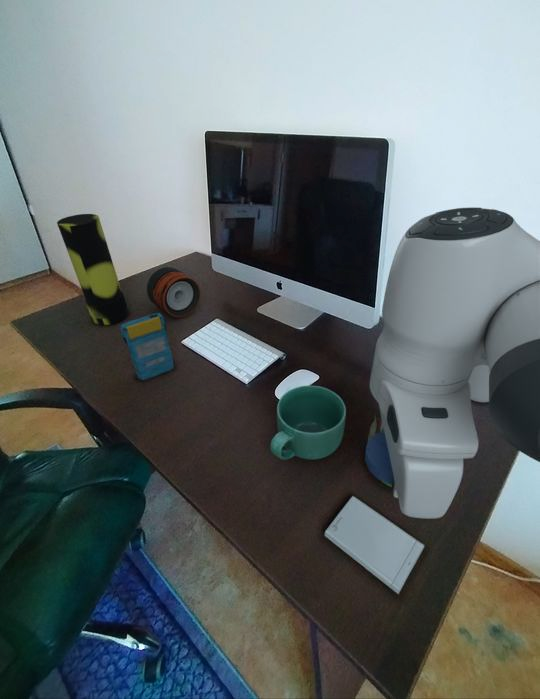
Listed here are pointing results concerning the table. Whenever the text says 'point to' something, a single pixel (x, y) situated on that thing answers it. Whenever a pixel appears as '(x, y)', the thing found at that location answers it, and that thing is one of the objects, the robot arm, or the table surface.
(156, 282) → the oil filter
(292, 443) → the mug
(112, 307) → the container
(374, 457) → the jar lid
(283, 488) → the table surface
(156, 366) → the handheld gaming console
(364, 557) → the hard drive
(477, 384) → the milk bottle
